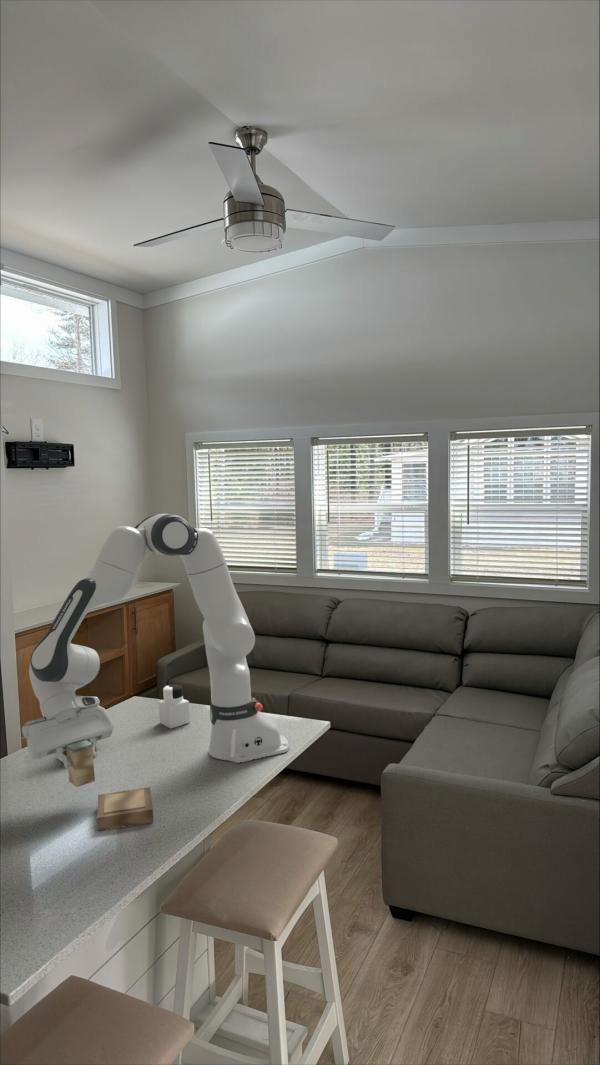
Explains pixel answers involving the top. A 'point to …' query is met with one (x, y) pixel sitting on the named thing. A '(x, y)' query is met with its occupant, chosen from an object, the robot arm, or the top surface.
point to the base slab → (124, 808)
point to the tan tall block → (81, 763)
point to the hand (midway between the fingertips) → (81, 762)
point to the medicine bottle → (174, 707)
